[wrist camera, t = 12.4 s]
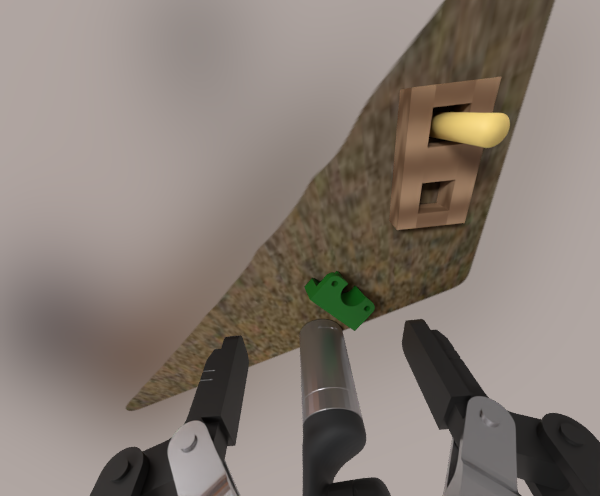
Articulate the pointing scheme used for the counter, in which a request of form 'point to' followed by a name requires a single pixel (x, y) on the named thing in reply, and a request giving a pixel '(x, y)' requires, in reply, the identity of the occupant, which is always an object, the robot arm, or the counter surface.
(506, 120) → the peg
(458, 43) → the counter surface
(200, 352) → the counter surface
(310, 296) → the clamp
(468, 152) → the hole block
